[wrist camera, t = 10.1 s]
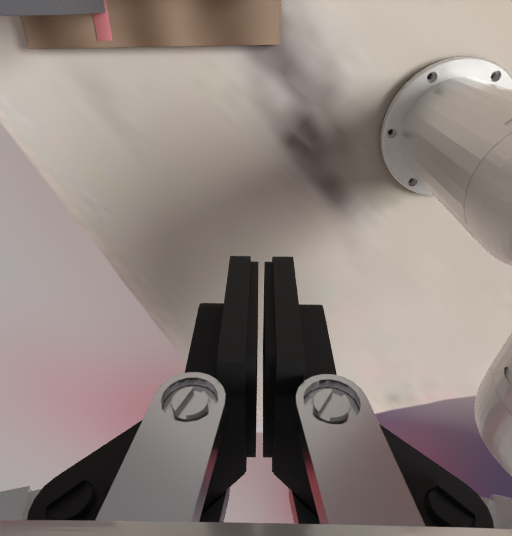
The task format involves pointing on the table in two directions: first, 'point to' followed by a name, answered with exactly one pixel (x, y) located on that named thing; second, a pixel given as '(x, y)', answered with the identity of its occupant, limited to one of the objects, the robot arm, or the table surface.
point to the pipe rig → (159, 25)
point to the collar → (50, 7)
